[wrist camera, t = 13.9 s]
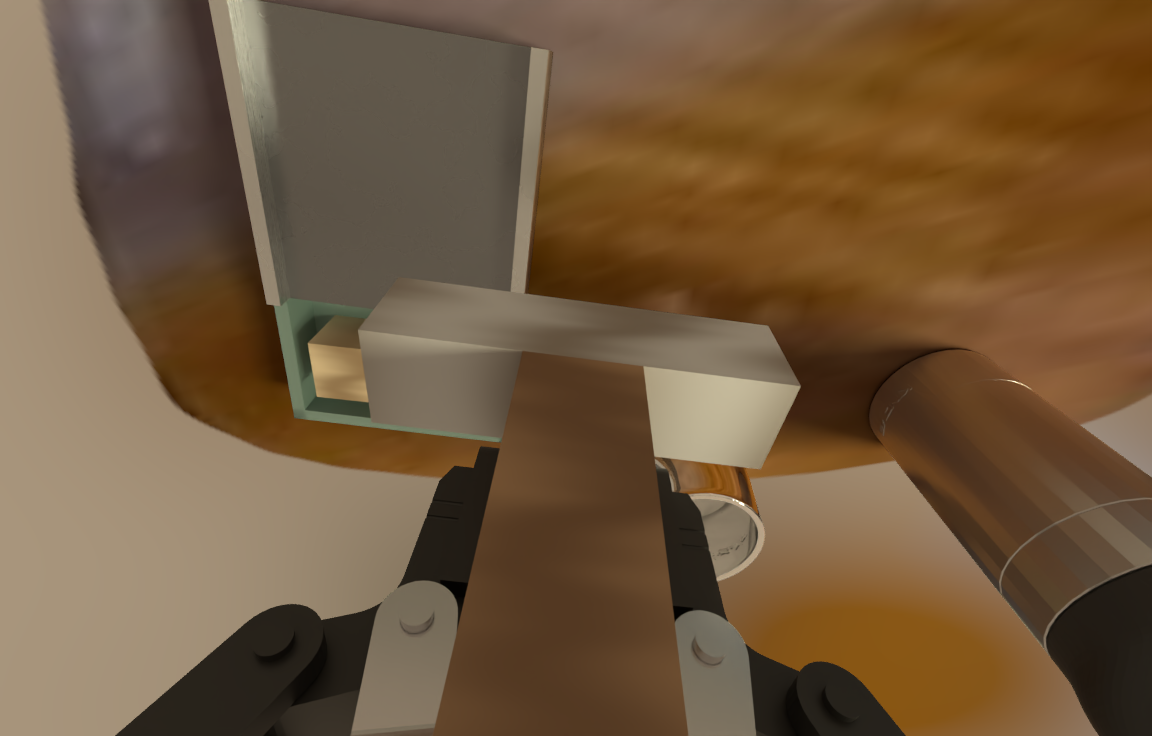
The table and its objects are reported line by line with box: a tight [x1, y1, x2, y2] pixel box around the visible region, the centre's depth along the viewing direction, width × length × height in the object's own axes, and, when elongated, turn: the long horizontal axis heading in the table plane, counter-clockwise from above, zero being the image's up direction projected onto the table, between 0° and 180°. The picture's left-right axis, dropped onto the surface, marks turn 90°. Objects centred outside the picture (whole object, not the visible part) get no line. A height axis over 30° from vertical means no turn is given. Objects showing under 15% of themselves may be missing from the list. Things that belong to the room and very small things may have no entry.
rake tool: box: [358, 277, 801, 736], centre depth 11 cm, size 11×3×12 cm, turn 83°
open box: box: [209, 0, 553, 309], centre depth 28 cm, size 15×15×4 cm
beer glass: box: [655, 457, 765, 581], centre depth 30 cm, size 7×7×15 cm
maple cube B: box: [308, 315, 368, 402], centre depth 33 cm, size 4×4×4 cm
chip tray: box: [274, 298, 502, 442], centre depth 34 cm, size 15×9×4 cm, turn 82°
